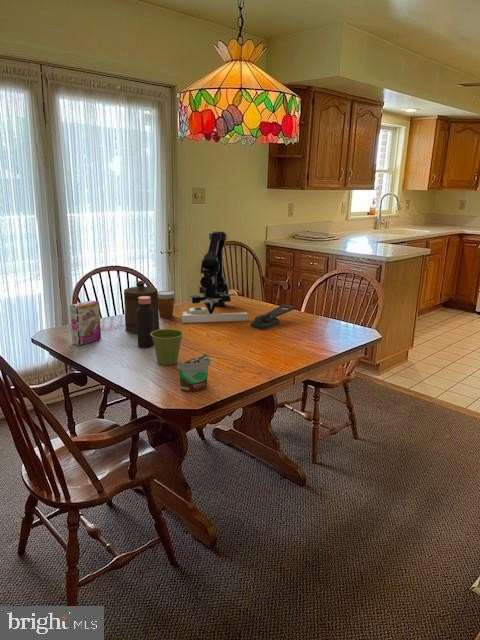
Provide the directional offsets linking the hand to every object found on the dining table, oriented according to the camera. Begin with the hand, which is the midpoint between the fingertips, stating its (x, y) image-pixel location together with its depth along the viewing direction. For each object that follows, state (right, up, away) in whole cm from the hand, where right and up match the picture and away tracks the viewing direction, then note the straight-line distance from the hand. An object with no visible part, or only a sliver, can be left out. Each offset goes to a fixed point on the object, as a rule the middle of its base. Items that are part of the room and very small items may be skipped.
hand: (210, 315), depth 234 cm
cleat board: (+2, -2, 0) cm, 2 cm away
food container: (+1, -24, -78) cm, 82 cm away
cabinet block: (-6, -2, -1) cm, 6 cm away
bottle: (-24, -13, -39) cm, 47 cm away
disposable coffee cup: (-22, -1, +3) cm, 22 cm away
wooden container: (-29, -6, -17) cm, 35 cm away
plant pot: (-12, -18, -56) cm, 60 cm away
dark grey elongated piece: (+30, -4, -5) cm, 30 cm away
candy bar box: (-49, -11, -35) cm, 61 cm away
